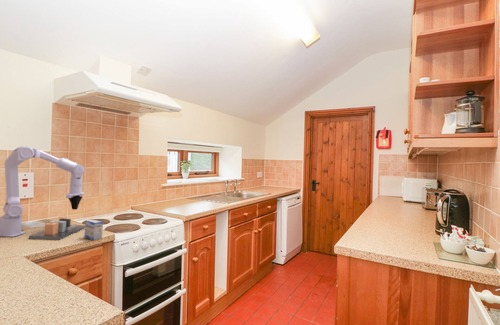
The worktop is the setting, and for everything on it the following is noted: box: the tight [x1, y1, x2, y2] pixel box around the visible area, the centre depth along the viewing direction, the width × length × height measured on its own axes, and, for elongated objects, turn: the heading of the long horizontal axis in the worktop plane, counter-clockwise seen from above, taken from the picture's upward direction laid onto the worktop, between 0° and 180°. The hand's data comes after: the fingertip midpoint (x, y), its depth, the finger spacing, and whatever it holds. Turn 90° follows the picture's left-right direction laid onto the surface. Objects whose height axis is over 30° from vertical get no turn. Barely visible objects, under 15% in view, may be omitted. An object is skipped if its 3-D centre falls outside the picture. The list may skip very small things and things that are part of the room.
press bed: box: [28, 223, 85, 241], centre depth 144 cm, size 14×24×4 cm, turn 4°
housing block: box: [44, 220, 59, 235], centre depth 137 cm, size 4×4×6 cm
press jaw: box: [48, 218, 71, 232], centre depth 144 cm, size 7×9×5 cm
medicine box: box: [84, 219, 104, 241], centre depth 138 cm, size 8×4×9 cm, turn 62°
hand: (74, 209), depth 156 cm, fingers closed
